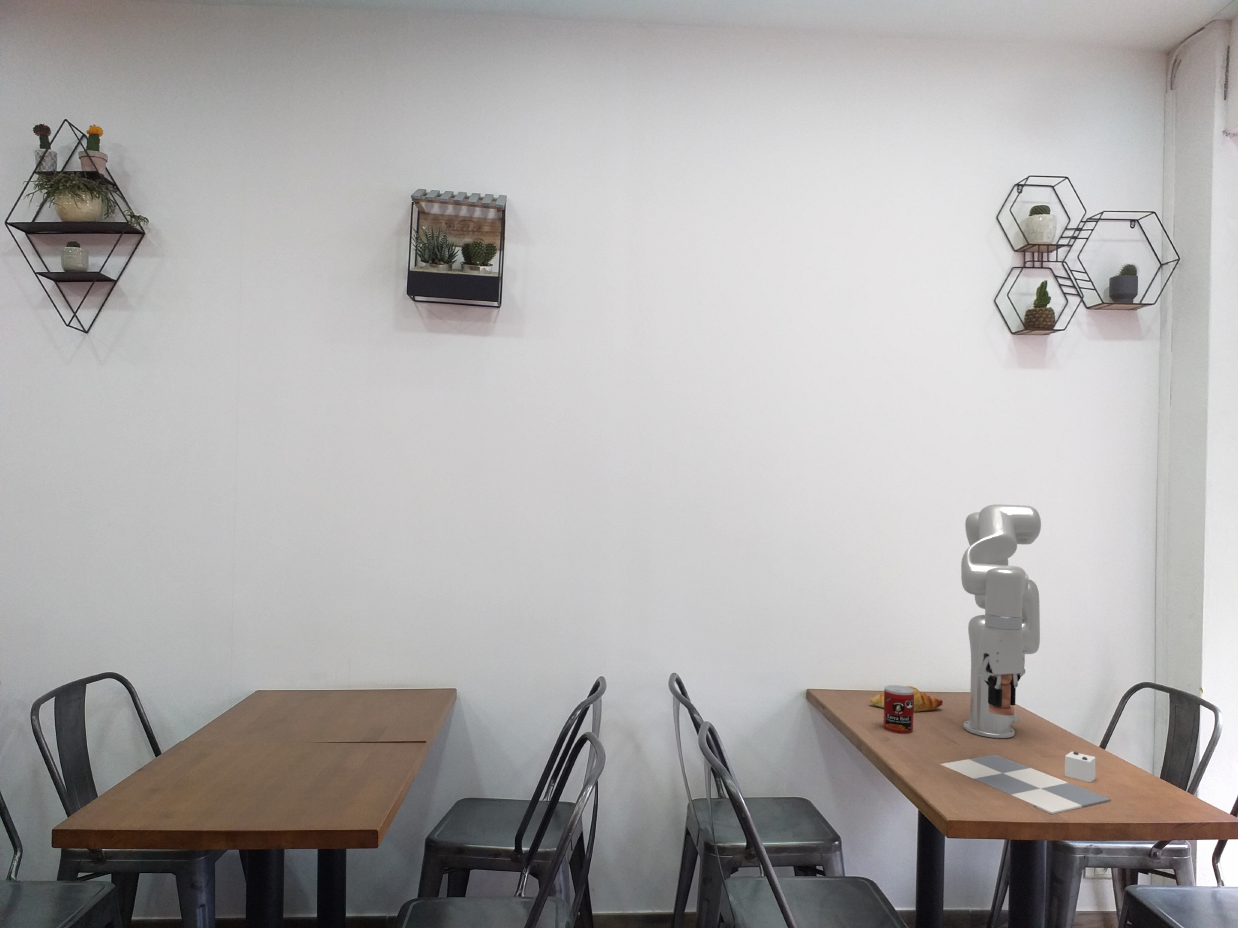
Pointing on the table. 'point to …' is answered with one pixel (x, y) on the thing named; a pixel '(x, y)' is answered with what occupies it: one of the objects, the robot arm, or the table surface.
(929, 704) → the croissant
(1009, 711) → the pawn
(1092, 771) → the die
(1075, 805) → the board
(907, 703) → the canned food
